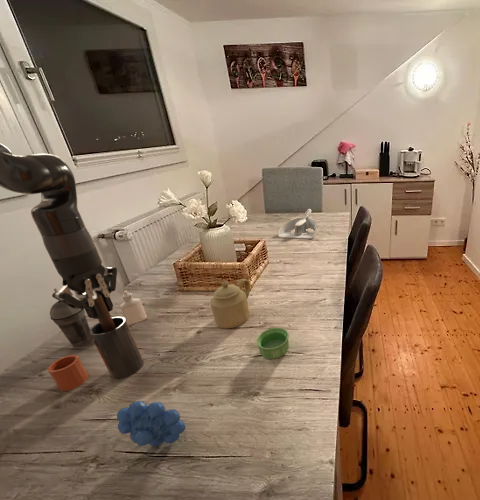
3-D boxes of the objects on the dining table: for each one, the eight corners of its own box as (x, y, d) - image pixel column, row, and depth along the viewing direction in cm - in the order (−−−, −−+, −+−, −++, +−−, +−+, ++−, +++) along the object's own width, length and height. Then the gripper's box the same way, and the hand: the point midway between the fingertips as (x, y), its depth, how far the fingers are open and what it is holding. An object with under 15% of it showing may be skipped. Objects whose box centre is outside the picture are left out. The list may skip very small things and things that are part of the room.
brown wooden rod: (116, 364, 72) (87, 302, 64) (112, 358, 74) (83, 297, 67) (133, 356, 75) (106, 295, 67) (128, 350, 77) (102, 291, 69)
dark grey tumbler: (116, 385, 72) (93, 339, 66) (108, 372, 76) (85, 327, 70) (148, 367, 77) (129, 323, 71) (139, 356, 81) (120, 313, 75)
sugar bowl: (223, 304, 104) (214, 268, 98) (254, 301, 105) (247, 265, 99) (211, 330, 90) (200, 290, 84) (246, 326, 92) (238, 287, 86)
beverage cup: (97, 332, 91) (71, 278, 83) (100, 342, 86) (72, 287, 78) (67, 343, 86) (36, 287, 78) (68, 355, 82) (35, 297, 74)
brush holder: (62, 396, 69) (49, 375, 66) (58, 385, 72) (45, 364, 69) (91, 381, 73) (80, 361, 70) (86, 371, 76) (75, 351, 73)
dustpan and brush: (276, 237, 167) (274, 222, 163) (295, 221, 196) (294, 207, 193) (313, 239, 163) (312, 223, 159) (327, 221, 193) (326, 208, 189)
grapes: (116, 470, 53) (91, 428, 49) (137, 435, 60) (116, 395, 55) (180, 461, 55) (162, 420, 50) (194, 427, 61) (179, 388, 56)
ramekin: (257, 344, 84) (254, 332, 82) (286, 335, 87) (285, 324, 85) (260, 365, 76) (258, 352, 75) (293, 354, 80) (291, 342, 78)
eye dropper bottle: (145, 322, 95) (133, 292, 90) (125, 327, 93) (112, 296, 88) (148, 315, 99) (137, 286, 94) (129, 319, 97) (116, 290, 92)
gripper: (89, 238, 69) (115, 297, 76) (21, 263, 56) (59, 331, 63) (116, 238, 68) (139, 299, 75) (52, 264, 55) (87, 334, 62)
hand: (102, 313), depth 69 cm, fingers closed on brown wooden rod, 2 cm apart
